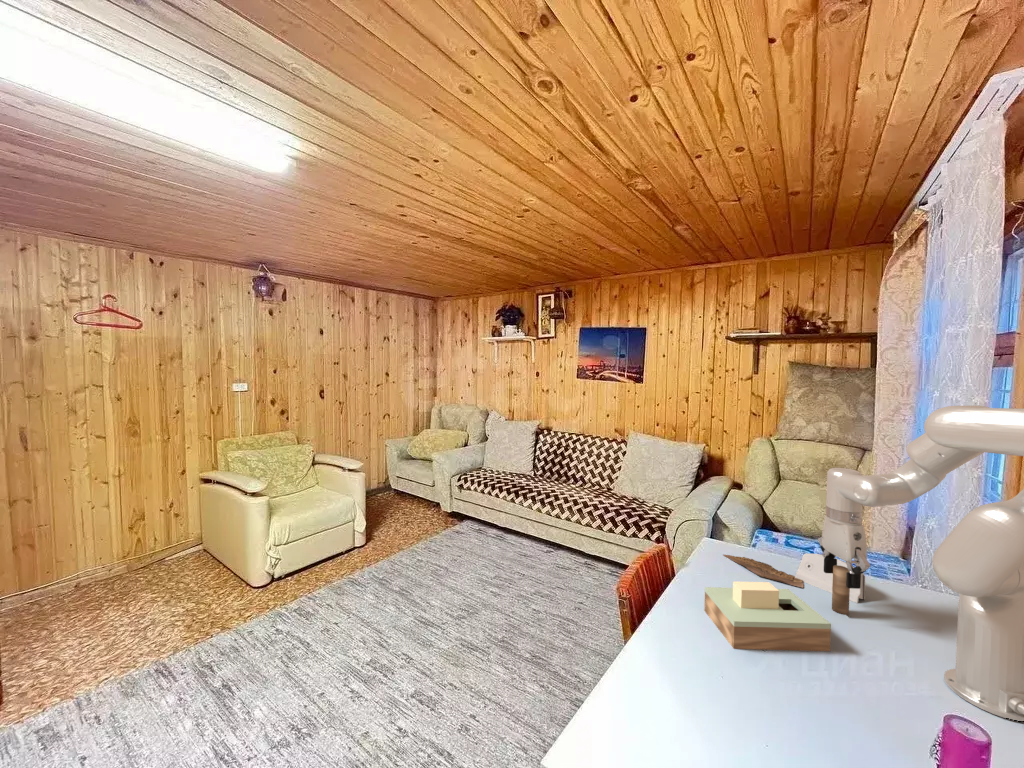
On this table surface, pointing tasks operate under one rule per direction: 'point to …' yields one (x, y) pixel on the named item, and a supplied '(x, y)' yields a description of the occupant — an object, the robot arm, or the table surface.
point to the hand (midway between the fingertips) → (841, 579)
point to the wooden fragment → (766, 571)
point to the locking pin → (840, 591)
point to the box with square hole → (768, 633)
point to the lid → (764, 606)
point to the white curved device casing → (824, 575)
